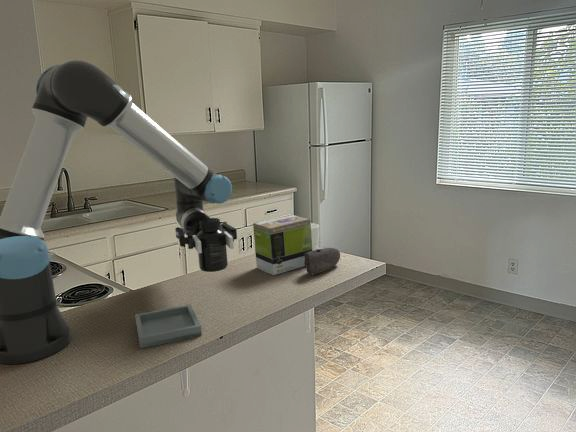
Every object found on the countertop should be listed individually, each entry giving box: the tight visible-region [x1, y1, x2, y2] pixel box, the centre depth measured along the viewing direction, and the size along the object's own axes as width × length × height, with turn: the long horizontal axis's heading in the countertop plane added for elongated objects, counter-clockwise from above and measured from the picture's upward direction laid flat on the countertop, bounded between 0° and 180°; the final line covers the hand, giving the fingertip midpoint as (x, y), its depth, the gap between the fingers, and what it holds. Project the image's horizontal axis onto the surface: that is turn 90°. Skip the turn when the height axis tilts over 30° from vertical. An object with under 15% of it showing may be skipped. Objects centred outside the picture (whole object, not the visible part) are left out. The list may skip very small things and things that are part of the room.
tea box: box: [252, 214, 312, 276], centre depth 145 cm, size 15×10×15 cm, turn 124°
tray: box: [134, 304, 203, 349], centre depth 107 cm, size 13×13×2 cm
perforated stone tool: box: [304, 247, 341, 276], centre depth 141 cm, size 15×5×7 cm, turn 132°
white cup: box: [310, 222, 320, 251], centre depth 155 cm, size 8×8×10 cm
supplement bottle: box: [197, 217, 228, 273], centre depth 113 cm, size 7×7×12 cm
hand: (215, 245), depth 109 cm, fingers closed on supplement bottle, 7 cm apart
